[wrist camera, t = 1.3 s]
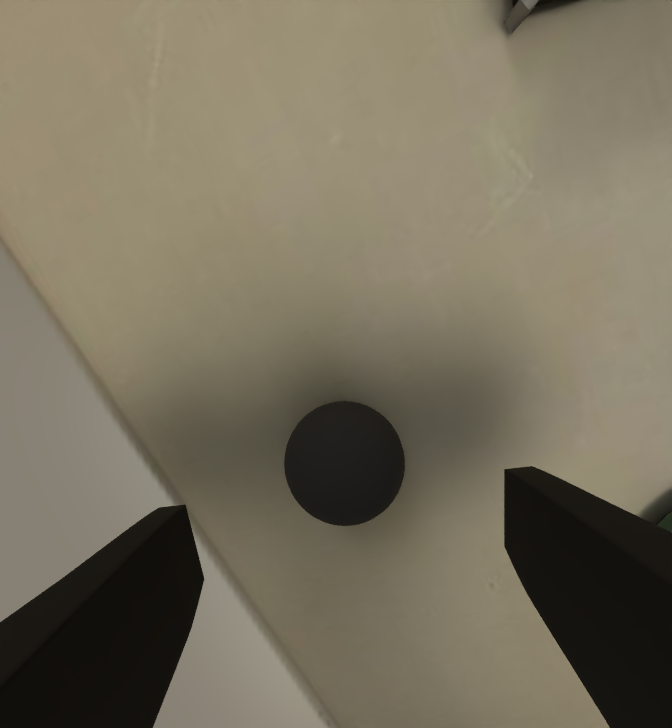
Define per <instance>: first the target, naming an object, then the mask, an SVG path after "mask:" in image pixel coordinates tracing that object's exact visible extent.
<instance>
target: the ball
mask: <svg viewBox="0 0 672 728" xmlns="http://www.w3.org/2000/svg"><path fill="white" fill-rule="evenodd" d="M284 466H285V475H286V479H287V483H288V486H289V488H290V490H291V493H292V494H293V496H294V498H295V499H296V501H297V502H298V503H299V504H300V506H301V507H302V508H303V509H304V510H305V511H306V512H308V513H309V514H310V515H312V516H313V517H315V518H317V519H319V520H321V521H323V522H325V523H329V524H332V525H338V526H352V525H358V524H361V523H364V522H367V521H369V520H371V519H373V518H375V517H376V516H378V515H379V514H381V513H382V512H383V511H384V510H385V509H386V508H388V506H389V505H390V504H391V503H392V502H393V500H394V498H395V497H396V495H397V494H398V492H399V489H400V487H401V484H402V480H403V477H404V470H405V458H404V451H403V447H402V444H401V441H400V438H399V436H398V434H397V432H396V431H395V429H394V428H393V426H392V425H391V424H390V422H389V421H388V420H387V419H386V418H385V417H384V416H382V415H381V414H380V413H379V412H377V411H376V410H374V409H372V408H370V407H368V406H366V405H363V404H360V403H355V402H348V401H341V402H333V403H329V404H326V405H323V406H321V407H318V408H316V409H315V410H313V411H311V412H310V413H309V414H307V415H306V416H305V417H304V418H303V419H302V420H301V421H300V422H299V423H298V425H297V426H296V427H295V429H294V430H293V432H292V434H291V436H290V438H289V441H288V444H287V447H286V452H285V462H284Z"/></svg>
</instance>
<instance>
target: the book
mask: <svg viewBox="0 0 672 728" xmlns="http://www.w3.org/2000/svg"><path fill="white" fill-rule="evenodd" d="M554 1H558V0H513V9H512V11H511V12H510V13H509V15H508V16H507V18H506V19H505V21H504V23H505V24H506V25H507V27H508V28H509V29H510V30H511V32H512V33H513V31H514V30H515V29H516V28H517V27H518V26H519V25H520V23H521V22H522V21H523V20H524V19H525V18H526V16H527V15H528V14H529V13H530V12H531V11H532V10H533V8H534V7H537V6H540V5H544V4H547V3H551V2H554Z"/></svg>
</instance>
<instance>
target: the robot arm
mask: <svg viewBox="0 0 672 728" xmlns="http://www.w3.org/2000/svg"><path fill="white" fill-rule="evenodd" d="M504 547H505V549H506V551H507V553H508V555H509V557H510V560H511V562H512V564H513V566H514V568H515V570H516V572H517V575H518V577H519V579H520V581H521V583H522V585H523V587H524V589H525V591H526V593H527V594H528V596H529V598H530V599H531V601H532V603H533V604H534V606H535V608H536V609H537V611H538V613H539V614H540V616H541V617H542V619H543V621H544V622H545V624H546V626H547V627H548V629H549V630H550V632H551V634H552V635H553V637H554V638H555V640H556V642H557V643H558V645H559V646H560V648H561V650H562V651H563V653H564V654H565V656H566V658H567V659H568V661H569V662H570V664H571V666H572V667H573V669H574V670H575V672H576V674H577V675H578V677H579V678H580V680H581V682H582V683H583V685H584V686H585V688H586V690H587V691H588V693H589V694H590V696H591V698H592V699H593V701H594V702H595V704H596V706H597V707H598V709H599V710H600V712H601V714H602V715H603V717H604V718H605V720H606V722H607V724H608V725H609V727H610V728H672V532H670V531H668V530H666V529H664V528H662V527H659V526H657V525H655V524H653V523H651V522H649V521H646V520H644V519H642V518H640V517H638V516H636V515H634V514H632V513H629V512H627V511H625V510H623V509H621V508H619V507H617V506H615V505H613V504H611V503H609V502H607V501H605V500H603V499H601V498H599V497H596V496H594V495H592V494H590V493H588V492H586V491H584V490H582V489H580V488H578V487H576V486H574V485H572V484H570V483H568V482H566V481H564V480H562V479H560V478H558V477H556V476H553V475H551V474H549V473H547V472H545V471H542V470H540V469H538V468H535V467H532V466H530V467H521V468H512V469H504ZM203 581H204V576H203V572H202V568H201V564H200V560H199V556H198V552H197V548H196V544H195V540H194V536H193V532H192V528H191V524H190V520H189V516H188V512H187V508H186V505H178V506H169V507H161V508H158V509H156V510H155V511H153V512H151V513H150V514H148V515H147V516H146V517H144V518H143V519H141V520H140V521H139V522H137V523H136V524H134V525H133V526H132V527H130V528H129V529H128V530H126V531H125V532H123V533H122V534H121V535H119V536H118V537H117V538H115V539H114V540H113V541H111V542H110V543H109V544H107V545H106V546H105V547H103V548H102V549H101V550H99V551H98V552H97V553H95V554H94V555H93V556H91V557H90V558H89V559H87V560H86V561H85V562H83V563H82V564H81V565H80V566H78V567H77V568H75V569H74V570H73V571H71V572H70V573H69V574H68V575H66V576H65V577H63V578H62V579H61V580H59V581H58V582H56V583H55V584H54V585H52V586H51V587H49V588H48V589H47V590H45V591H44V592H42V593H41V594H40V595H38V596H37V597H35V598H34V599H33V600H31V601H30V602H28V603H27V604H26V605H24V606H23V607H21V608H20V609H19V610H17V611H16V612H14V613H13V614H11V615H10V616H9V617H8V618H6V619H4V620H3V621H2V622H0V728H153V726H154V723H155V720H156V718H157V715H158V713H159V710H160V708H161V705H162V703H163V700H164V697H165V695H166V692H167V690H168V687H169V685H170V682H171V680H172V677H173V674H174V672H175V669H176V667H177V664H178V662H179V659H180V657H181V654H182V651H183V648H184V646H185V644H186V641H187V638H188V636H189V633H190V630H191V627H192V623H193V620H194V616H195V613H196V609H197V605H198V602H199V598H200V594H201V590H202V585H203Z"/></svg>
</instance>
